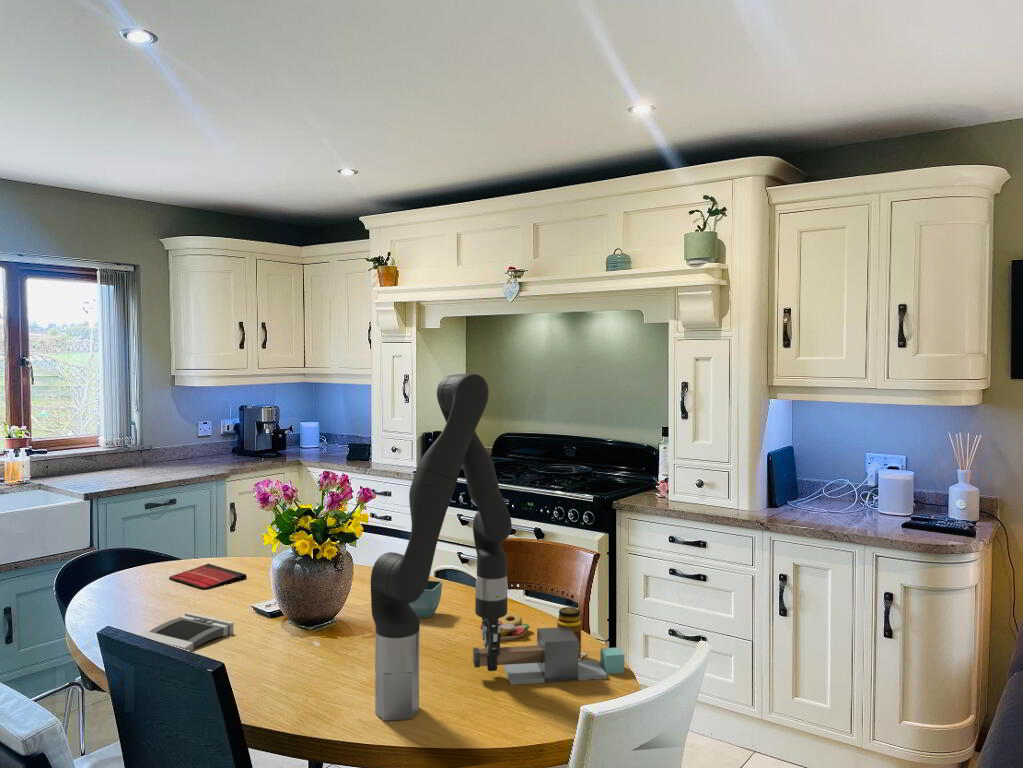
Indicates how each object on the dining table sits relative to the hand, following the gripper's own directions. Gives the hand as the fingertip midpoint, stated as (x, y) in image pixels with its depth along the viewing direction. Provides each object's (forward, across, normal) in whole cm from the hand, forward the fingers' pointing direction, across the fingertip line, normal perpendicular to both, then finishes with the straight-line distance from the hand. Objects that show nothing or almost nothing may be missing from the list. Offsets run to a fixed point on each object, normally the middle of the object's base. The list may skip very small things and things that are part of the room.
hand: (490, 666), depth 180 cm
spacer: (-2, 0, -30) cm, 30 cm away
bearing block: (+3, 0, -16) cm, 16 cm away
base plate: (+3, 0, -16) cm, 16 cm away
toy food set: (+3, +28, -8) cm, 30 cm away
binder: (+4, +91, +82) cm, 122 cm away
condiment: (+3, +10, -21) cm, 23 cm away
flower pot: (+3, +46, +13) cm, 47 cm away
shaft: (-1, 0, -8) cm, 8 cm away
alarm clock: (+3, +36, +76) cm, 84 cm away
